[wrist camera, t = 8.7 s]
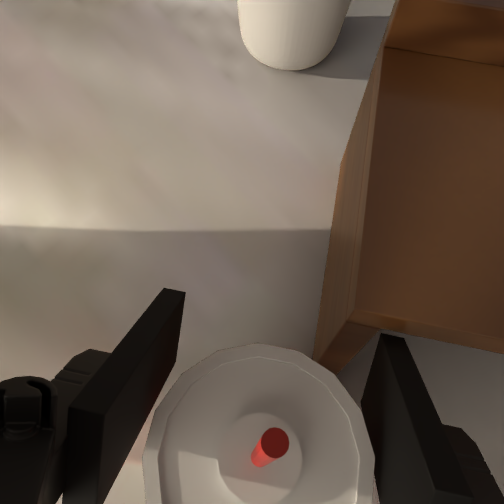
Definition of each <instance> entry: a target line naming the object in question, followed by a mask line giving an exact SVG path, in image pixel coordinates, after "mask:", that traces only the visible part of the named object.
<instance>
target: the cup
mask: <svg viewBox="0 0 504 504" xmlns="http://www.w3.org/2000/svg"><path fill="white" fill-rule="evenodd" d="M350 2H351V0H237V3H238V13H239V23H240V30H241V35H242V38H243V41H244V44H245V46H246V48H247V49H248V51H249V52H250V53H251V55H252V56H253V57H255V58H256V59H257V60H258V61H260V62H261V63H263V64H265V65H267V66H269V67H272V68H275V69H280V70H289V71H291V70H302V69H306V68H309V67H312V66H314V65H316V64H318V63H319V62H321V61H322V60H323V59H324V58H325V57H326V56H327V55H328V54H329V53H330V52H331V50H332V49H333V47H334V45H335V43H336V41H337V38H338V36H339V33H340V31H341V28H342V25H343V22H344V19H345V16H346V14H347V11H348V8H349V5H350Z"/></svg>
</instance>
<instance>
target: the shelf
mask: <svg viewBox="0 0 504 504" xmlns="http://www.w3.org/2000/svg"><path fill="white" fill-rule="evenodd" d="M380 329H386V330H390V331H395V332H400V333H405V334H410V335H415V336H419V337H424V338H429V339H434V340H439V341H443V342H448V343H453V344H458V345H463V346H467V347H472V348H477V349H482V350H487V351H492V352H496V353H501V354H504V0H395V3H394V6H393V9H392V12H391V15H390V18H389V21H388V24H387V27H386V30H385V33H384V36H383V39H382V42H381V45H380V48H379V51H378V54H377V58H376V60H375V63H374V66H373V69H372V72H371V75H370V78H369V81H368V84H367V87H366V90H365V93H364V96H363V99H362V102H361V105H360V108H359V110H358V113H357V116H356V119H355V122H354V125H353V128H352V131H351V134H350V137H349V140H348V143H347V146H346V149H345V152H344V155H343V158H342V161H341V166H340V173H339V180H338V187H337V193H336V200H335V207H334V214H333V221H332V228H331V234H330V241H329V248H328V255H327V262H326V269H325V275H324V282H323V289H322V296H321V303H320V310H319V317H318V323H317V330H316V337H315V344H314V351H313V358H312V360H313V361H315V362H316V363H318V364H319V365H321V366H323V367H324V368H326V369H327V370H329V371H330V372H332V373H333V374H335V376H336V375H337V374H338V373H339V372H340V371H341V370H342V369H343V368H344V367H345V365H346V364H347V363H348V362H349V361H350V360H351V359H352V358H353V357H354V356H355V355H356V354H357V353H358V352H359V351H360V350H361V349H362V348H363V347H364V346H365V345H366V344H367V343H368V342H369V341H370V339H371V338H372V337H373V336H374V335H375V334H376V333H377V332H378V331H379V330H380Z"/></svg>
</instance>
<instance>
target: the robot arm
mask: <svg viewBox="0 0 504 504" xmlns="http://www.w3.org/2000/svg"><path fill="white" fill-rule="evenodd" d="M185 294H186V292H182V291H177V290H172V289H167V288H163V290H162V291H161V292H160V293H159V295H158V296H157V297H156V298H155V300H154V301H153V302H152V303H151V305H150V306H149V307H148V308H147V309H146V311H145V312H144V313H143V314H142V316H141V317H140V318H139V319H138V321H137V322H136V323H135V324H134V326H133V327H132V328H131V329H130V331H129V332H128V333H127V334H126V336H125V337H124V338H123V339H122V341H121V342H120V343H119V344H118V346H117V347H116V348H115V349H114V351H113V352H112V353H107V352H103V351H98V350H94V349H88V350H86V351H84V352H82V353H80V354H78V355H76V356H74V357H73V358H72V359H71V360H70V361H69V362H68V363H67V365H66V366H65V367H64V368H63V370H61V371H60V372H59V373H58V374H57V375H56V376H55V379H52V380H51V381H48V380H46V379H44V378H41V377H33V376H24V377H15V378H11V379H8V380H5V381H2V382H0V504H56V502H57V501H58V499H59V498H60V496H61V494H62V493H63V498H62V504H103V503H104V501H105V499H106V497H107V495H108V493H109V491H110V489H111V487H112V485H113V483H114V481H115V479H116V477H117V475H118V474H119V472H120V470H121V468H122V466H123V464H124V462H125V460H126V458H127V456H128V454H129V452H130V450H131V448H132V446H133V444H134V442H135V440H136V438H137V437H138V435H139V433H140V431H141V429H142V427H143V425H144V423H145V421H146V419H147V417H148V415H149V413H150V411H151V409H152V407H153V405H154V403H155V401H156V399H157V398H158V396H159V394H160V392H161V390H162V388H163V386H164V384H165V382H166V380H167V378H168V376H169V374H170V372H171V370H172V368H173V366H174V364H175V362H176V356H177V349H178V342H179V336H180V329H181V322H182V315H183V308H184V301H185ZM361 407H362V412H363V417H364V422H365V425H366V428H367V432H368V435H369V439H370V442H371V445H372V449H373V452H374V455H375V465H374V475H375V480H376V486H377V491H378V496H379V501H380V504H504V497H503V495H502V493H501V491H500V489H499V487H498V485H497V483H496V481H495V479H494V477H493V475H490V470H489V468H488V466H487V464H486V462H484V458H483V456H482V454H481V452H480V450H479V448H478V447H477V445H476V443H475V442H474V441H473V440H472V439H471V438H470V437H469V436H468V435H467V434H466V433H465V432H464V431H463V430H462V429H461V428H458V427H453V426H449V425H444V424H442V423H441V421H440V418H439V416H438V414H437V412H436V409H435V407H434V405H433V403H432V400H431V398H430V396H429V393H428V391H427V389H426V387H425V384H424V382H423V380H422V378H421V375H420V373H419V371H418V369H417V366H416V364H415V362H414V360H413V357H412V355H411V353H410V350H409V348H408V346H407V344H406V341H405V339H404V338H402V337H397V336H392V335H388V334H383V333H381V335H380V338H379V342H378V345H377V349H376V352H375V355H374V359H373V362H372V365H371V369H370V372H369V376H368V379H367V382H366V386H365V389H364V392H363V396H362V399H361Z"/></svg>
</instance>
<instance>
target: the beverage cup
mask: <svg viewBox="0 0 504 504" xmlns="http://www.w3.org/2000/svg"><path fill="white" fill-rule="evenodd" d="M142 464H143V476H144V488H145V499H146V504H372V496H373V481H374V465H375V455H374V452H373V449H372V445H371V442H370V439H369V435H368V432H367V428H366V425H365V422H364V418H363V415H362V411H361V410H360V408H359V407H358V406H357V404H356V403H355V401H354V400H353V399H352V397H351V396H350V395H349V393H348V392H347V391H346V389H345V388H344V387H343V385H342V384H341V383H340V381H339V380H338V378H337V377H336V376H335V374H333V373H332V372H330V371H329V370H327V369H326V368H324V367H323V366H321V365H319V364H318V363H316V362H315V361H313V360H312V359H310V358H309V357H307V356H306V355H304V354H303V353H301V352H299V351H297V350H292V349H287V348H282V347H277V346H272V345H267V344H262V343H255V344H249V345H244V346H239V347H234V348H228V349H223V350H218V351H216V352H215V353H213V354H212V355H210V356H209V357H207V358H205V359H204V360H202V361H201V362H199V363H198V364H196V365H195V366H193V367H191V368H190V369H188V370H187V371H185V372H184V373H182V374H181V376H180V377H179V378H178V380H177V381H176V383H175V384H174V385H173V387H172V388H171V389H170V391H169V392H168V393H167V395H166V396H165V398H164V399H163V400H162V402H161V403H160V404H159V406H158V407H157V409H156V410H155V413H154V416H153V420H152V423H151V427H150V431H149V434H148V438H147V441H146V445H145V449H144V452H143V456H142Z"/></svg>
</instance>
